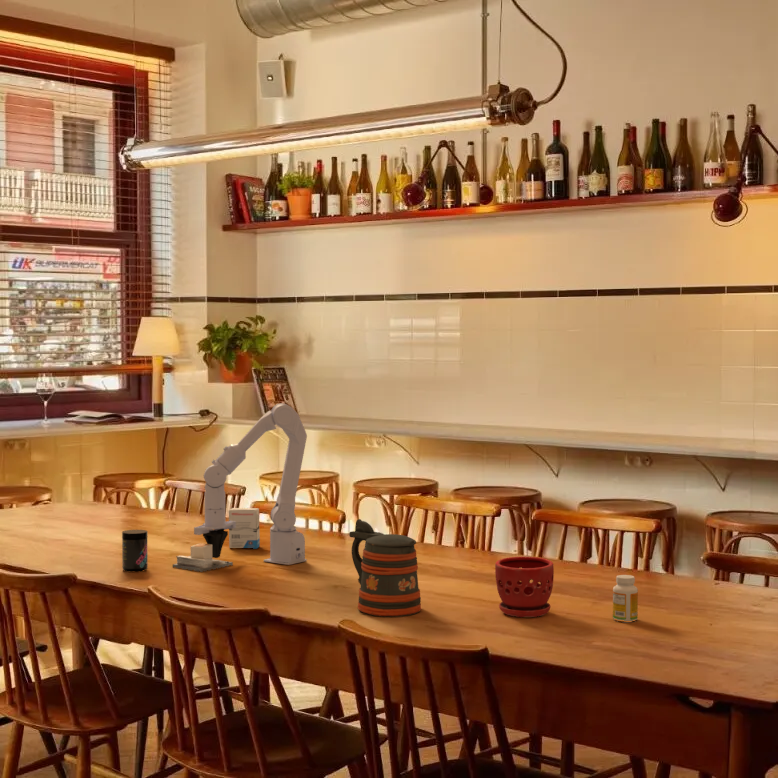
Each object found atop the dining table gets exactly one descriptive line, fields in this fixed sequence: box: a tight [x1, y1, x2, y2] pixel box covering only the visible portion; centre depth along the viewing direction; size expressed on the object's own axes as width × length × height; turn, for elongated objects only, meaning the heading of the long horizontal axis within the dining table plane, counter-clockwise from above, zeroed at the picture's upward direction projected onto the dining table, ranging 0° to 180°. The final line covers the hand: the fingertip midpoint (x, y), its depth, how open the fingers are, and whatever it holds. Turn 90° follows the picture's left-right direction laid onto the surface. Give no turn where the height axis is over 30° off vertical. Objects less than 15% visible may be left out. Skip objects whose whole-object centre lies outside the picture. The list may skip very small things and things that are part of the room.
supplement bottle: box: [612, 574, 639, 621], centre depth 261 cm, size 5×5×10 cm
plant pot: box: [494, 556, 555, 618], centre depth 266 cm, size 13×13×12 cm
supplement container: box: [121, 529, 149, 572], centre depth 317 cm, size 7×7×10 cm
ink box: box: [228, 507, 261, 550], centre depth 352 cm, size 9×5×12 cm, turn 84°
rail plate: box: [172, 555, 234, 573], centre depth 322 cm, size 11×12×3 cm
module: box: [190, 542, 213, 559], centre depth 322 cm, size 4×5×5 cm
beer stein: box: [348, 518, 422, 618], centre depth 271 cm, size 19×15×20 cm
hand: (215, 557), depth 326 cm, fingers closed
